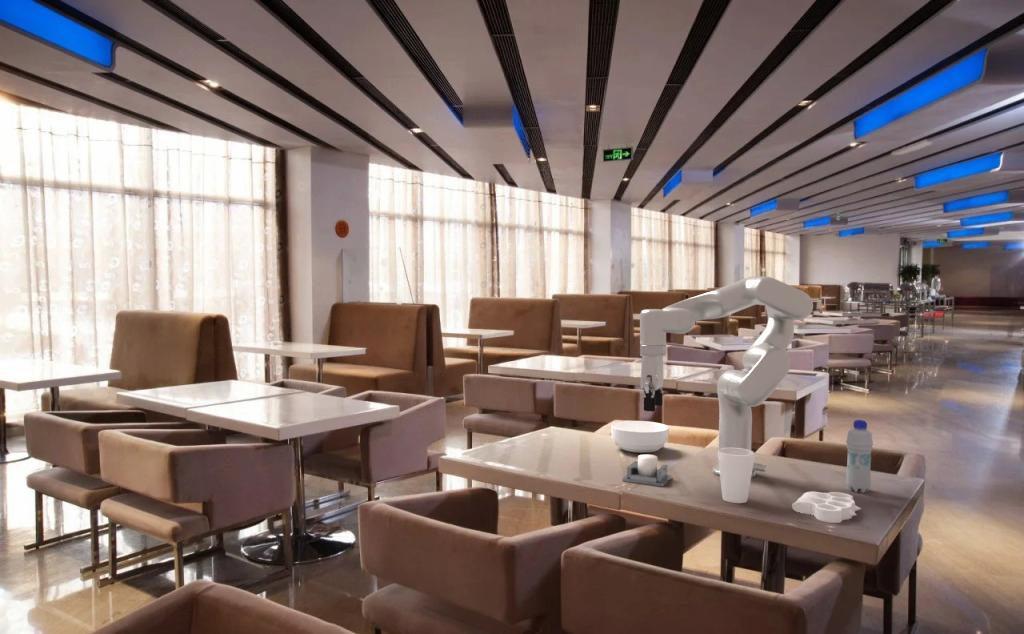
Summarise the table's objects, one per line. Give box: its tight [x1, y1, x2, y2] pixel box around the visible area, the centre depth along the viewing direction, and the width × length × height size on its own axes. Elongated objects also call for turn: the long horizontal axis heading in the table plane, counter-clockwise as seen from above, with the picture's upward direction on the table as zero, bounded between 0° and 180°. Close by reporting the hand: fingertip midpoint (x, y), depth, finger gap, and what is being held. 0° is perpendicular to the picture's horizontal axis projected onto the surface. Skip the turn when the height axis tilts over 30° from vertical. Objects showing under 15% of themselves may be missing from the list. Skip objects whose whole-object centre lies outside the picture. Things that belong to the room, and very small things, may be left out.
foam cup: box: [716, 448, 756, 504], centre depth 188 cm, size 10×9×13 cm
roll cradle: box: [622, 460, 672, 487], centre depth 207 cm, size 12×10×4 cm
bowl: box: [610, 420, 670, 454], centre depth 243 cm, size 20×20×8 cm
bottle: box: [845, 419, 874, 493], centre depth 197 cm, size 7×7×20 cm
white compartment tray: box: [791, 491, 862, 524], centre depth 179 cm, size 3×18×15 cm
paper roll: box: [637, 453, 658, 478], centre depth 207 cm, size 6×6×6 cm
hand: (653, 408), depth 208 cm, fingers open, 9 cm apart
